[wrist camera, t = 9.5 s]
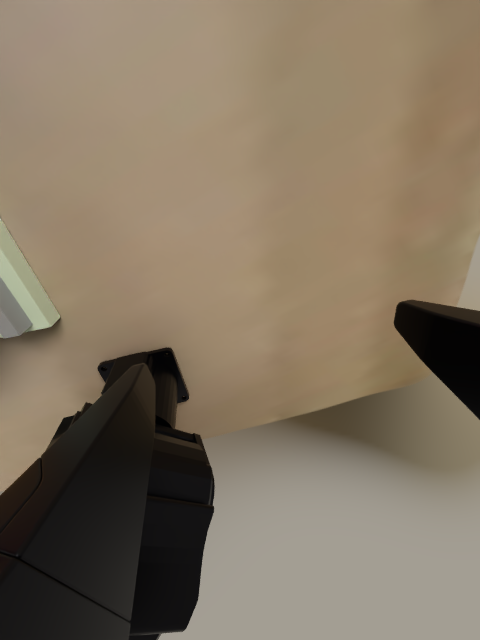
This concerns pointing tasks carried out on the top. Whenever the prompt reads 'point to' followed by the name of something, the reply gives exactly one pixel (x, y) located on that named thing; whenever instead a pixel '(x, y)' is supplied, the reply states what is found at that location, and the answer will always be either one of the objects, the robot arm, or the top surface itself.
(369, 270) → the top surface
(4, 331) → the pale green tray
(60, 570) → the robot arm
